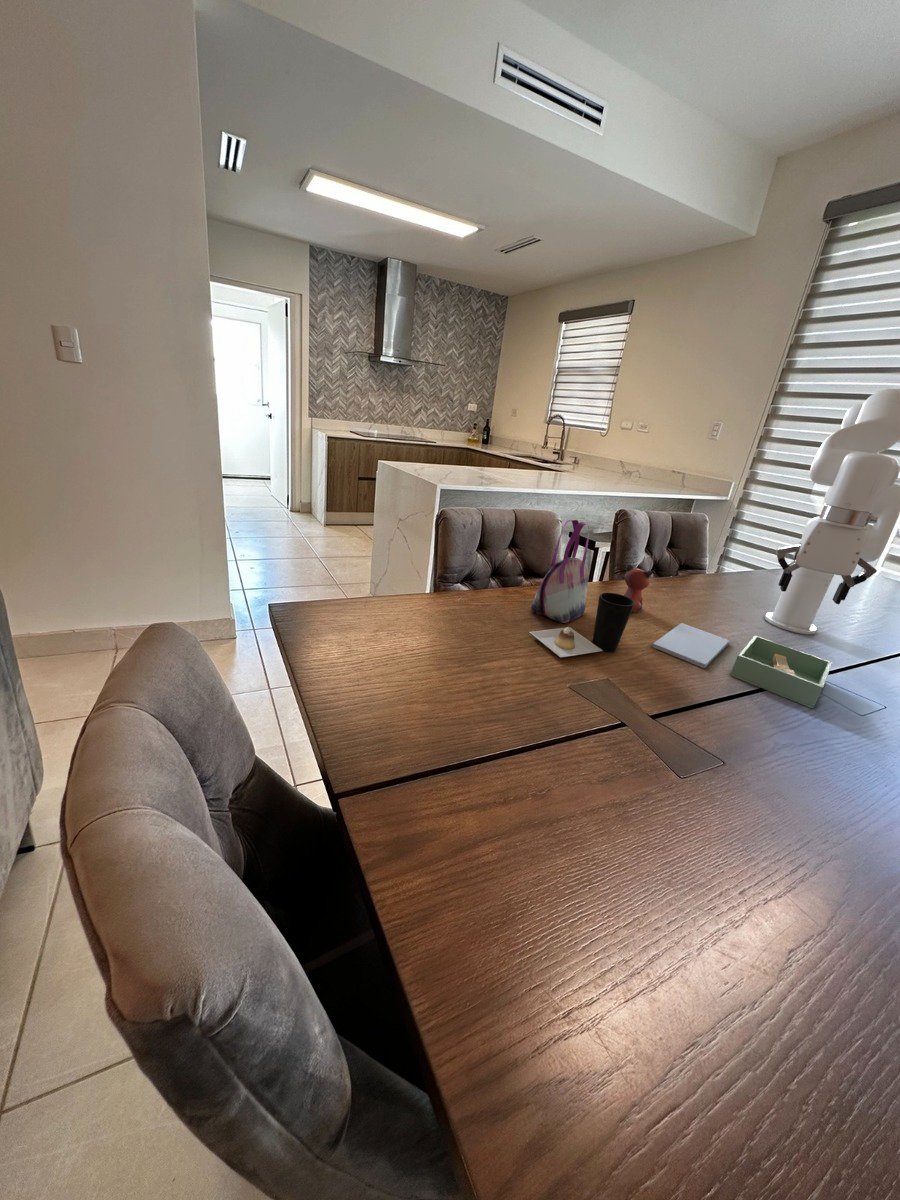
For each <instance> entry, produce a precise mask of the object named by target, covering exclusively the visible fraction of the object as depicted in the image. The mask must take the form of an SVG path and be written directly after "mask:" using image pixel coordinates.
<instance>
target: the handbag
mask: <svg viewBox="0 0 900 1200" xmlns="http://www.w3.org/2000/svg"><path fill="white" fill-rule="evenodd" d="M570 522H571V523H572V528H573V531H572V533H571V535H570V537H569V540H568V542H567V544H566V546H565V549H564V553H563V558H562V560H560V561H558V562H556V560H557V555H558V550H559V547H560V543H561V537H562V534H563V531H561V532H560V534H559V537H558V540H557V543H556V545H555V549H554V552H553V556H552V559H551V564H550V568H549V570H548V571H547V573H545V576H544V577H543V579H542V581H541V582H540V584H539V587H538V589H537V591H536V593H535V596H534V598H533V601H532V603H531V611H532V612H533V613H536V616H537V617H539V615H542V616H545V617H547V618H549V619H551V620H554V621H555V622H558V623H562V624H564V623H569V622H571V621H573V620H575V619H578V618H580V617H582V616H583V615H584V613H585V611H586V605H587V596H588V595H587V594H588V583H589V569H588V564H587V563H586V559H587V555H588V554H587V553H588V547H589V538H590V532H588V534H587V538H586V542H585V547H584V551H583V557H582V559H580V558H578V557H577V552H578V548H579V545H580V538H581V537H580V535H581V531H582V529H583V528H584V527H585V526H587V527H588V528H590V526H589V525H588V523H587V522H585V521H580V522H579V520H578V519H571V520H570V519H569V520H567V521H566V522H565V523H564V525H563V527H562V529H564V528H565V527H566V526H567V524H569V523H570ZM573 544H574V545H573ZM572 546H573V550H572V557H569V553H570V551H571V548H572Z"/></svg>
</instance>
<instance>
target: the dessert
mask: <svg viewBox="0 0 900 1200" xmlns="http://www.w3.org/2000/svg"><path fill="white" fill-rule="evenodd" d="M529 634H531V635H532V636H533V637H534V638H535V639H537V640H538V641H539V642H540V643H542V644H543V645H544V646H545V647H546V648H548V649H549V650H550V651H551V652H553V653H554V654H555V655H557V656H558V657H559V658H568V657H574V656H581V655H586V654H592V653H599V652H604V651H603V650H602V649H600V648H599V647H597V646H596V645H594V644H593V643H592V642H591V641H590V640H589V639H587V638H586V637H585V636H583V635H582V634H580V633H579V632H578V631H576V630H575V629H573V628H572V627H570V626H565V627H559V628H558V627H557V628H552V629H543V630H534V631H529Z"/></svg>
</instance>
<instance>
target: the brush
mask: <svg viewBox="0 0 900 1200" xmlns="http://www.w3.org/2000/svg"><path fill="white" fill-rule="evenodd" d="M770 666H771V667H774V668H776V669H779V670H782V671H784V672H787V673H790V674H792V675H795V672H794V670H791V669H789V666H788V662H787V659H786V656H782V655H778V654H774V656H773V659H772V661H771V663H770ZM795 676H796V675H795Z"/></svg>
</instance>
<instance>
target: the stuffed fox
mask: <svg viewBox="0 0 900 1200" xmlns="http://www.w3.org/2000/svg"><path fill="white" fill-rule="evenodd" d="M625 566H626V567H625V569H626V573H625V574H624V582H625V584H626V586H627V589H626V591H625V593H624V594H623V596H626V597H628V598H630V599H632V600H633V601H634V603H635V604H634V607H633V609H632V612H631V613H638V612H640V611H641V610H642V609H643V599H644V598H643V590H645V589H646V588H648V587H649V585H650V583H651V582H650V581H651V580H650V577H651V576H652V574H653V573H654V572H653V571H652V570H643V569H640V568H636V567H634V566H633V565H632V564H631V563H627V564H626V565H625Z"/></svg>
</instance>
